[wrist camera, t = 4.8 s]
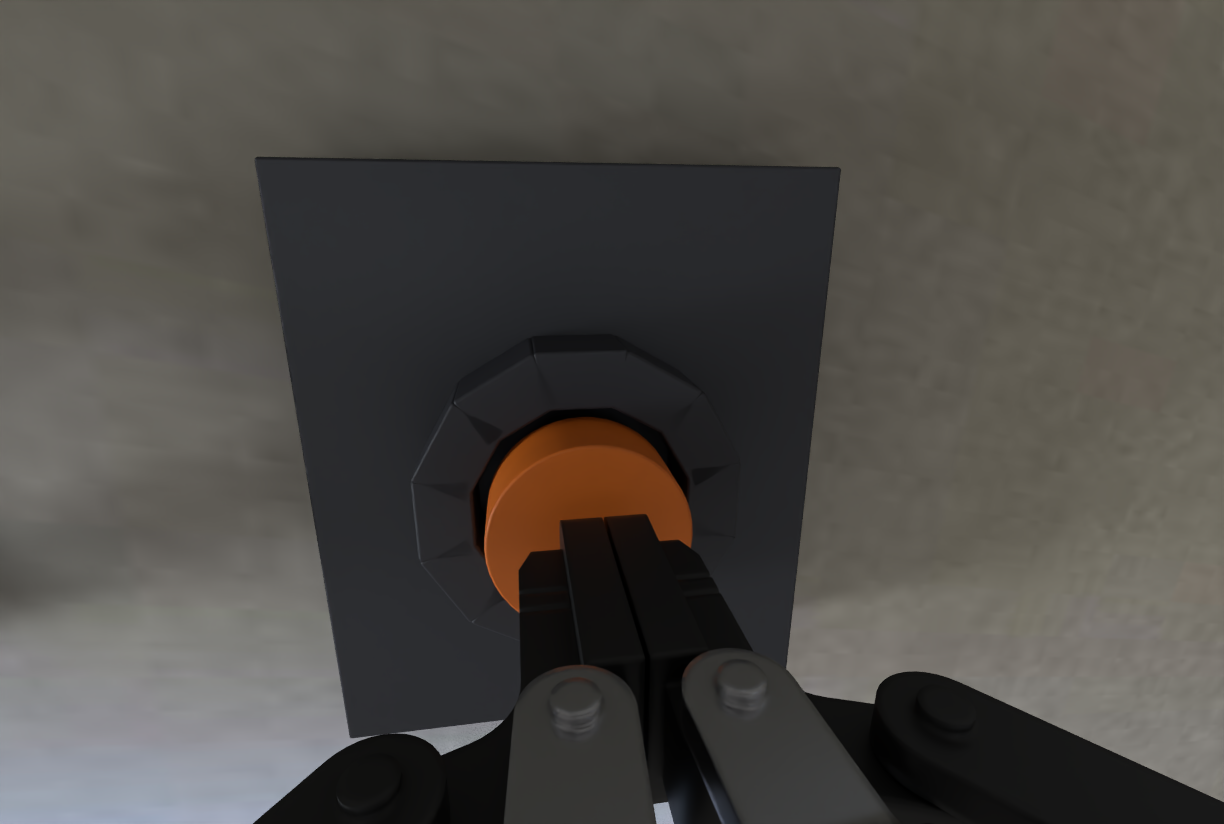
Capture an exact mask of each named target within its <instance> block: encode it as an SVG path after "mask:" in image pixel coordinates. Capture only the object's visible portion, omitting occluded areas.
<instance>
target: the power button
mask: <svg viewBox="0 0 1224 824" xmlns="http://www.w3.org/2000/svg"><path fill="white" fill-rule="evenodd" d="M635 514H647V516H648V518H649V520H650V522H651V524H652V526H653V529H654V531H655V533H656V535H657V537H658V539H659V541H667V540H680V541H681V542H683V543H684V544H686V545H687V546H688V547H690V548H691V544H692V535H693V531H692V518H691V512H690V509H689V505H688V502H687V499H686V497H685V495H684V493H683V491H682V489H681V488H680V486H679V485H678V483H677V481H676V480H675V478H674V477H673V475H672V474H671V472H670V470H669V469H668V467H667V466H666V464H665V463H664V461H663V459H662V458H661V456H660V455H659V454H658V452H657V451H656V449H655V448H654V447H653V446H652V445H651V444H650V443H649V442H648V440H646V439H645V438H644V437H643V436H641V435H640V434H639V433H638V432H636V431H634V430H633V429H631V428H629V427H627V426H625V425H623V424H620V423H618V422H615V421H611V420H608V419H603V418H596V417H576V418H567V419H563V420H559V421H555V422H552V423H550V424H547V425H544V426H542V427H540V428H538V429H536V430H534V431H532V432H531V433H530V434H528V435H527V436H525V437H524V438H522V439H521V440H520V441H519V442H518V443H517V444H516V445H514V446H513V447H512V448H511V450H510V451H509V452H508V453H507V454H506V455H505V457H504V458H503V460H502V461H501V463H500V464H499V466H498V468H497V470H496V472H495V474H494V476H493V479H492V482H491V485H490V489H489V495H488V503H487V514H486V525H485V537H484V553H485V560H486V565H487V568H488V571H489V575H490V577H491V579H492V581H493V583H494V585H495V587H496V588H497V590H498V591H499V593H500V594H501V596H502V597H503V598H504V599H505V600H506V601H507V602H508V603H509V605H510V606H511V607H513V608H514V609H515V610H516V611H517V612H519V571H518V570H519V569H520V567H521V566H522V564H523V563H524V561H525V560H526V558H527V557H528V555H529V554H530V552H534V551H546V550H559V549H560V529H559V528H560V520H570V519H583V518H596V517H602V518H603V520H604V517H608V516H621V515H635Z"/></svg>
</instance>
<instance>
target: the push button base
mask: <svg viewBox="0 0 1224 824" xmlns="http://www.w3.org/2000/svg"><path fill="white" fill-rule="evenodd" d="M255 166H256V172H257V178H258V184H259V190H260V196H261V202H262V208H263V214H264V220H265V226H266V232H267V238H268V244H269V250H270V256H271V262H272V269H273V275H274V281H275V287H276V293H277V299H278V305H279V311H280V317H281V323H282V329H283V335H284V341H285V347H286V353H287V359H288V365H289V371H290V378H291V384H292V390H293V396H294V402H295V408H296V414H297V420H298V426H299V432H300V438H301V444H302V450H303V456H304V462H305V468H306V474H307V480H308V486H309V493H310V499H311V505H312V511H313V517H314V523H315V529H316V535H317V541H318V547H319V553H320V559H321V565H322V571H323V577H324V583H325V589H326V595H327V602H328V608H329V614H330V620H331V626H332V632H333V638H334V644H335V650H336V656H337V662H338V668H339V674H340V680H341V686H342V692H343V698H344V704H345V710H346V717H347V723H348V729H349V735H350V738H358V737H366V736H374V735H382V734H391V733H399V732H407V731H415V730H424V729H432V728H440V727H448V726H457V725H465V724H473V723H481V722H489V721H498V720H505V719H506V718H507V717H508V715H509V714H510V712H511V711H512V710H513V708H514V706H515V704H516V702H517V700H518V697H519V693H520V687H521V668H520V619H519V612H517V611H516V610H515V609H514V608H513V607H511V606H510V605H509V603H508V602H507V601H506V600H505V599H504V598H503V597H502V596H501V594H500V593H499V591H498V590H497V588H496V587H495V585H494V583H493V581H492V579H491V577H490V575H489V571H488V568H487V565H486V560H485V553H484V537H485V525H486V514H487V503H488V495H489V489H490V485H491V482H492V479H493V476H494V474H495V472H496V470H497V468H498V466H499V464H500V463H501V461H502V460H503V458H504V457H505V455H506V454H507V453H508V452H509V451H510V450H511V448H512V447H513V446H514V445H516V444H517V443H518V442H519V441H520V440H521V439H522V438H524V437H525V436H527V435H528V434H530V433H531V432H532V431H534V430H536V429H538V428H540V427H542V426H544V425H547V424H550V423H552V422H555V421H559V420H563V419H567V418H576V417H596V418H603V419H608V420H611V421H615V422H618V423H620V424H623V425H625V426H627V427H629V428H631V429H633V430H634V431H636V432H638V433H639V434H640V435H641V436H643V437H644V438H645V439H646V440H648V442H649V443H650V444H651V445H652V446H653V447H654V448H655V449H656V451H657V452H658V454H659V455H660V456H661V458H662V459H663V461H664V463H665V464H666V466H667V467H668V469H669V470H670V472H671V474H672V475H673V477H674V478H675V480H676V481H677V483H678V485H679V486H680V488H681V489H682V491H683V493H684V495H685V497H686V499H687V502H688V505H689V509H690V512H691V518H692V531H693V535H692V544H691V549H692V550H694V551H695V552H697V553H698V554H699V555H700V557H701V558H702V560H703V562H704V564H705V566H706V567H707V569H708V571H709V573H710V577H712V578H713V580H714V582H715V583H716V585H717V587H718V589H719V594H720V593H721V594H722V596H723V598H724V600H725V601H726V603H727V605H728V607H729V608H730V610H731V612H732V614H733V616H734V617H735V619H736V621H737V623H738V625H739V626H740V628H741V630H742V632H743V633H744V635H745V637H746V639H747V641H748V642H749V644H750V646H751V648H752V650H753V651H754V652H757V653H760V654H762V655H765V656H767V657H769V658H771V659H773V660H774V661H776V662H777V663H779V664H780V665H782V666H783V667H784V668H785V669H786V664H787V655H788V646H789V637H790V628H791V619H792V610H793V601H794V591H795V582H796V573H797V564H798V555H799V546H800V537H801V528H802V519H803V509H804V500H805V491H806V482H807V473H808V464H809V455H810V446H811V437H812V428H813V418H814V409H815V400H816V391H817V382H818V373H819V364H820V355H821V346H822V337H823V327H824V318H825V309H826V300H827V291H828V282H829V273H830V264H831V255H832V245H833V236H834V227H835V218H836V209H837V200H838V191H839V182H840V173H841V169H840V168H838V167H795V166H739V165H684V164H629V163H573V162H518V161H462V160H407V159H352V158H296V157H256V158H255Z"/></svg>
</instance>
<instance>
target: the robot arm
mask: <svg viewBox="0 0 1224 824" xmlns="http://www.w3.org/2000/svg"><path fill="white" fill-rule="evenodd" d="M559 529H560V549H559V550H546V551H534V552H530V554H529V555H528V557H527V558H526V560H525V561H524V563H523V564H522V566H521V567H520V569H519V570H518V571H519V619H520V668H521V687H520V693H519V697H518V700H517V702H516V704H515V706H514V708H513V710H512V711H511V712H510V714H509V715H508V717H507V718H506V719H505V720H504V721H503V722H502V723H501V724H500V725H499V726H498V727H496V728H495V729H494V730H493V731H491V732H490V733H488V734H487V735H485V736H484V737H482V738H481V739H478V740H476V741H474V742H472V743H470V744H468V745H465V746H463V747H461V748H458V749H456V750H453V751H451V752H449V753H446V754H444V755H440V753H439V752H438V751H437V750H436V749H435V748H434V746H433V745H431V744H430V743H428V742H427V741H426V740H423V739H421V738H419V737H416V736H412V735H408V734H383V735H379V736H374V737H370V738H367V739H364V740H361V741H358V742H356V743H354V744H352V745H350V746H348V747H346V748H344V749H343V750H341V751H339V752H338V753H336V754H335V755H333V756H332V757H331V758H329V759H328V760H327V761H325V762H324V763H323V764H322V765H321V766H320V767H318V768H317V769H316V770H315V771H314V772H313V773H311V774H310V775H309V776H308V777H307V778H306V779H304V780H303V781H302V782H301V783H300V784H299V785H297V786H296V787H295V788H294V789H293V790H292V791H290V792H289V793H288V794H287V795H286V796H285V797H283V798H282V799H281V800H280V801H279V802H278V803H276V804H275V805H274V806H273V807H272V808H271V809H269V810H268V811H267V812H266V813H265V814H264V815H262V816H261V817H260V818H259V819H258V820H257V821H255V822H254V823H253V824H656V818H655V812H654V806H653V804H656V803H663V802H668V803H669V806H670V810H671V814H672V818H673V821H674V824H1224V802H1222V801H1220V800H1217V799H1215V798H1213V797H1211V796H1209V795H1206V794H1204V793H1202V792H1200V791H1198V790H1195V789H1193V788H1191V787H1189V786H1187V785H1184V784H1182V783H1180V782H1178V781H1176V780H1173V779H1171V778H1169V777H1167V776H1165V775H1162V774H1160V773H1158V772H1156V771H1154V770H1151V769H1149V768H1147V767H1145V766H1143V765H1140V764H1138V763H1136V762H1134V761H1132V760H1129V759H1127V758H1125V757H1123V756H1121V755H1118V754H1116V753H1114V752H1112V751H1110V750H1107V749H1105V748H1103V747H1101V746H1099V745H1096V744H1094V743H1092V742H1090V741H1088V740H1085V739H1083V738H1081V737H1079V736H1077V735H1074V734H1072V733H1070V732H1068V731H1066V730H1063V729H1061V728H1059V727H1057V726H1055V725H1052V724H1050V723H1048V722H1046V721H1044V720H1041V719H1039V718H1037V717H1035V716H1033V715H1030V714H1028V713H1026V712H1024V711H1022V710H1019V709H1017V708H1015V707H1013V706H1011V705H1008V704H1006V703H1004V702H1002V701H1000V700H997V699H995V698H993V697H991V696H989V695H986V694H984V693H982V692H980V691H977V690H975V689H973V688H971V687H969V686H966V685H964V684H962V683H960V682H957V681H955V680H952V679H950V678H947V677H944V676H940V675H937V674H932V673H926V672H902V673H897V674H894V675H892V676H890V677H888V678H886V679H885V680H884V681H883V682H882V683H881V684H880V685H879V687H878V689H877V692H876V698H875V704H870V703H863V702H856V701H849V700H842V699H834V698H827V697H822V696H817V695H813V694H810V693H806V692H804V691H803V690H802V688H801V687H800V685H799V684H798V683H797V681H796V680H795V679H794V677H793V676H792V675H791V674H790V673H789V671H787V670H786V669H785V668H784V667H783V666H782V665H780V664H779V663H777V662H776V661H774V660H773V659H771V658H769V657H767V656H765V655H762V654H760V653H757V652H754V651H753V650H752V648H751V646H750V644H749V642H748V641H747V639H746V637H745V635H744V633H743V632H742V630H741V628H740V626H739V625H738V623H737V621H736V619H735V617H734V616H733V614H732V612H731V610H730V608H729V607H728V605H727V603H726V601H725V600H724V598H723V596H722V594H721V593H720V594H719V589H718V587H717V585H716V583H715V582H714V580H713V578H712V577H710V573H709V571H708V569H707V567H706V566H705V564H704V562H703V560H702V558H701V557H700V555H699V554H698V553H697V552H695V551H694V550H692V549H691V548H690V547H688V546H687V545H686V544H684V543H683V542H681V541H680V540H667V541H659V539H658V537H657V535H656V533H655V531H654V529H653V526H652V524H651V522H650V520H649V518H648V516H647V514H635V515H621V516H608V517H604V520H603V518H602V517H596V518H583V519H570V520H560V528H559Z"/></svg>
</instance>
